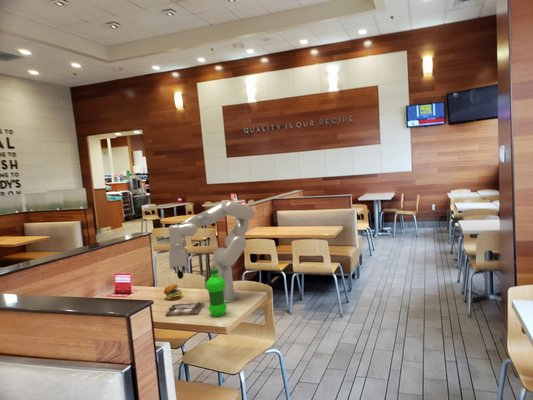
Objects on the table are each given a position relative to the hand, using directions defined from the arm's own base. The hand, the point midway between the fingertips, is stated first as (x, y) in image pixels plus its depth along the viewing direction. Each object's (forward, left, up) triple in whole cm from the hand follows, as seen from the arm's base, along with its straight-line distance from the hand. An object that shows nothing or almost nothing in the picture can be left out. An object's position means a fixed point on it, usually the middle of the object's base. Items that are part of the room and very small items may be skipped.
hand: (180, 278), depth 221 cm
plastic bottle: (-22, +9, -19) cm, 30 cm away
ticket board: (-1, 0, -19) cm, 19 cm away
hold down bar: (-1, 0, -17) cm, 17 cm away
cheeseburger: (+14, -23, -19) cm, 33 cm away
